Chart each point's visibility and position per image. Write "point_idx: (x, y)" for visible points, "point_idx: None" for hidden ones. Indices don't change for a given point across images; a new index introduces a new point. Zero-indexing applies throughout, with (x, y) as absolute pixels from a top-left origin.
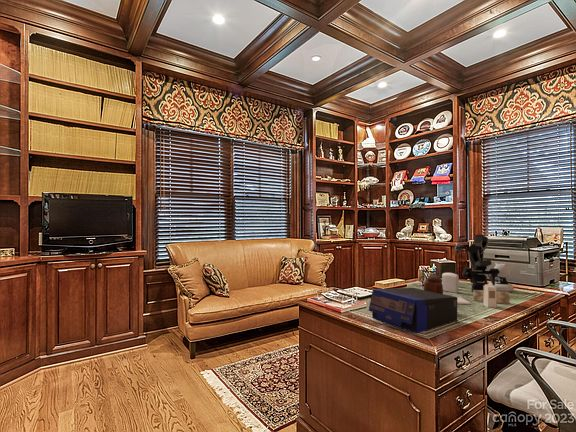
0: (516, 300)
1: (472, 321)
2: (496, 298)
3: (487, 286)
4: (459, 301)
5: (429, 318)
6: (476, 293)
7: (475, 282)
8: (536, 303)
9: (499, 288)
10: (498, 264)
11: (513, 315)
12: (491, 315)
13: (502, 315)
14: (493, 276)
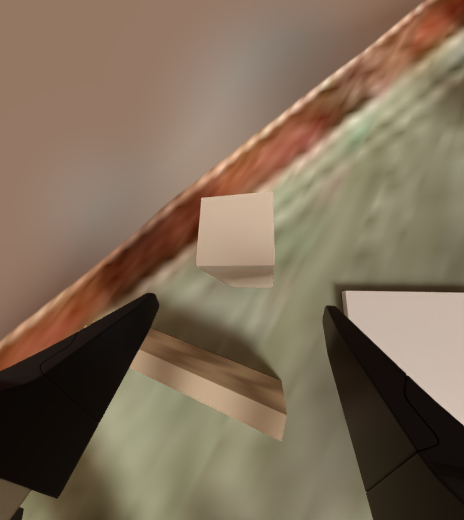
0: None
1: (434, 53)
2: (168, 343)
3: (260, 220)
4: (414, 314)
5: None
6: (268, 395)
7: (351, 330)
8: (31, 326)
9: None
10: None
11: (234, 153)
12: (320, 135)
13: (275, 144)
14: (36, 366)
